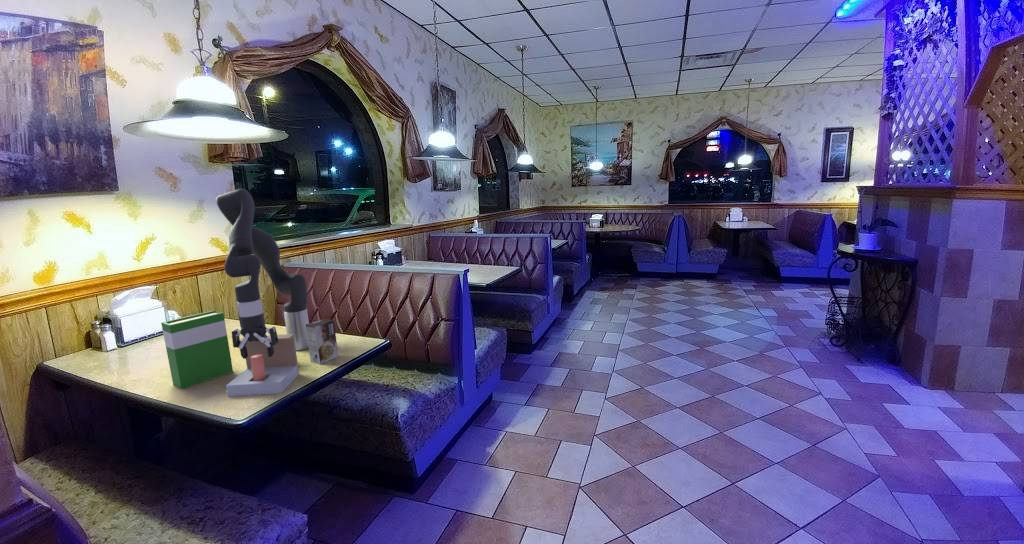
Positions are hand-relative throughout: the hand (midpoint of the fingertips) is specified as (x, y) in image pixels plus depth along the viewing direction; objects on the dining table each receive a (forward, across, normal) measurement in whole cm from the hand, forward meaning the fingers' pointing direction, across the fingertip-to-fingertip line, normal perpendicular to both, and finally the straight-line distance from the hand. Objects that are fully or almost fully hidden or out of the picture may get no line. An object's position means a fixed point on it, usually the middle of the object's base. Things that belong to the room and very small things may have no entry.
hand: (258, 357), depth 162 cm
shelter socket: (+12, 0, +3) cm, 12 cm away
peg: (+12, -1, 0) cm, 12 cm away
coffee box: (+12, +14, +24) cm, 31 cm away
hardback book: (+12, -27, +13) cm, 33 cm away
